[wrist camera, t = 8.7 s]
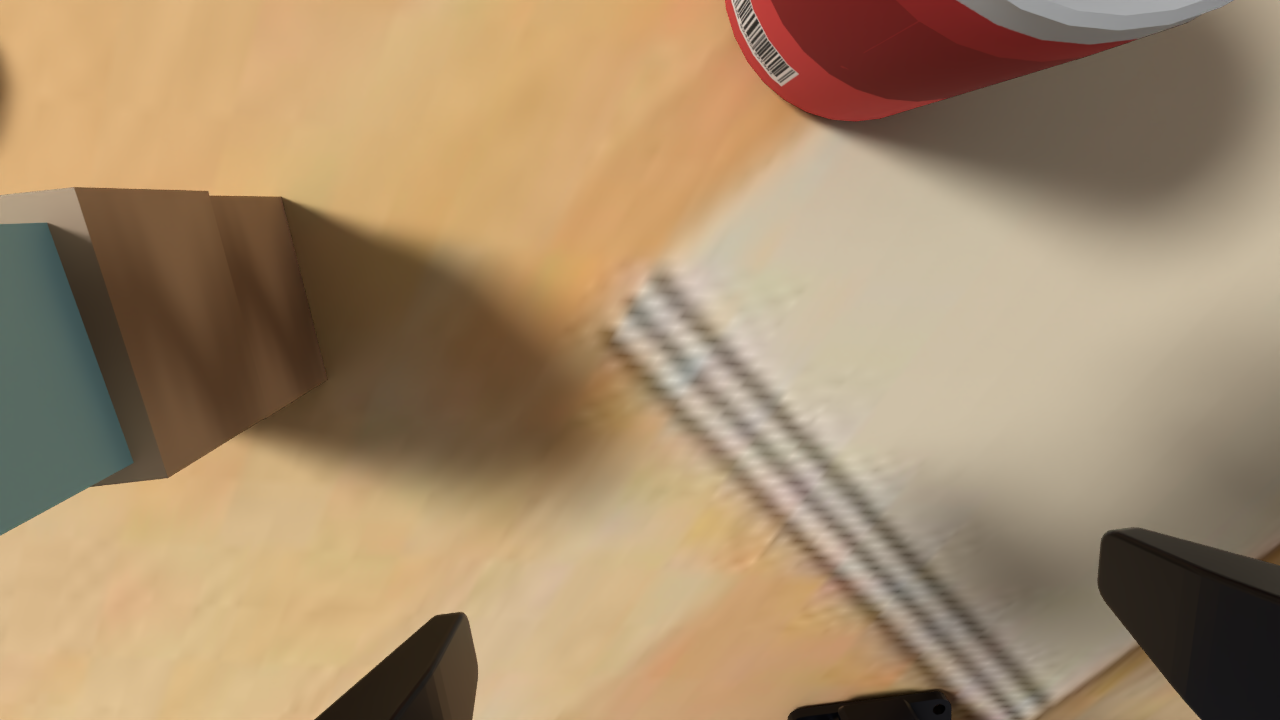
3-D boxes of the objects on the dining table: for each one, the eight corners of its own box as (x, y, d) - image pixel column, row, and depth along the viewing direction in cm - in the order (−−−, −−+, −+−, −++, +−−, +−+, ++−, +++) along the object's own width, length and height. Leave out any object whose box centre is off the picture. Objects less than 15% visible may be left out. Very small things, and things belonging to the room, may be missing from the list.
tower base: (329, 378, 21) (264, 419, 17) (151, 400, 21) (46, 445, 17) (282, 196, 19) (201, 195, 16) (90, 219, 19) (-39, 223, 15)
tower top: (268, 415, 17) (168, 477, 13) (49, 440, 17) (-118, 510, 13) (208, 191, 16) (74, 187, 12) (-33, 217, 15) (-250, 222, 12)
